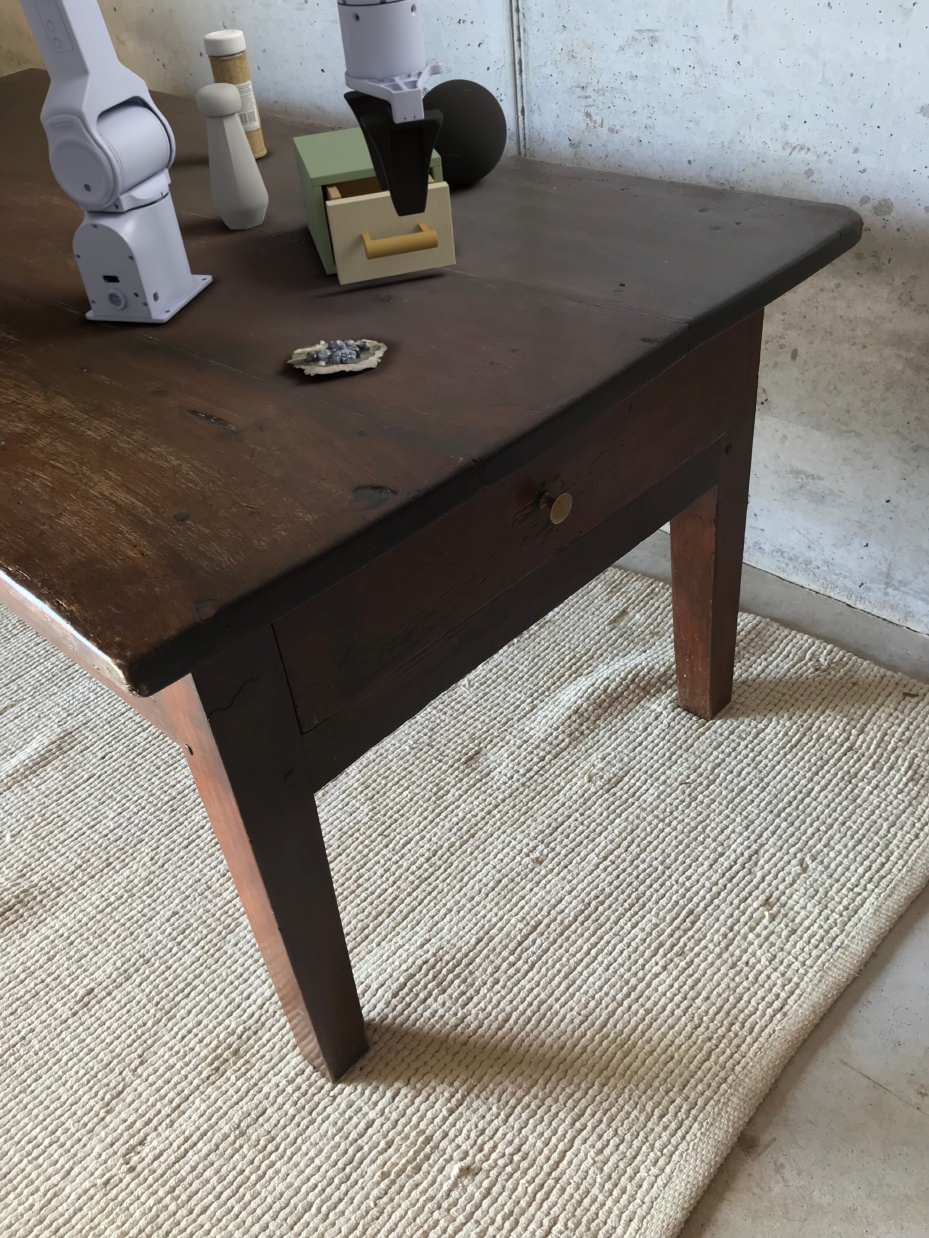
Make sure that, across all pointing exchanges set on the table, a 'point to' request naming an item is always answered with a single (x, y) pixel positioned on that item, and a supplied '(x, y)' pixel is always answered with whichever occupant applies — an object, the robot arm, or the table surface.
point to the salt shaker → (231, 159)
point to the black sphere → (467, 130)
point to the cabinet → (335, 177)
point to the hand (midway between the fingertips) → (402, 200)
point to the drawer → (386, 231)
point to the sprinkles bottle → (236, 80)
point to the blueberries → (338, 356)
